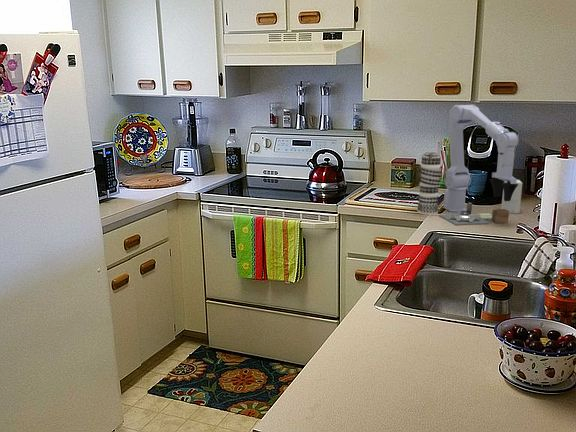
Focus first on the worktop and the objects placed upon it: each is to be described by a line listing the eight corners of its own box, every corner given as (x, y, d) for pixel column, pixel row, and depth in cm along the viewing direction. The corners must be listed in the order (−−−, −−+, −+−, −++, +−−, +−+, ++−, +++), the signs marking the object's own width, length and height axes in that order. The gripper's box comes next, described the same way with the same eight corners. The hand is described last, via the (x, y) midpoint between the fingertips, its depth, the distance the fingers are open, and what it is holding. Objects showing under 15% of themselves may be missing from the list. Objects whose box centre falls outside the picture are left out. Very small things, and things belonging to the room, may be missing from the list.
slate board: (439, 216, 250) (439, 214, 250) (471, 214, 252) (471, 213, 252) (455, 225, 236) (456, 223, 235) (489, 223, 238) (489, 222, 238)
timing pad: (472, 215, 252) (472, 213, 252) (488, 214, 253) (488, 212, 253) (482, 219, 244) (482, 218, 244) (498, 219, 246) (498, 217, 246)
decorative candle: (418, 209, 262) (421, 150, 256) (440, 211, 259) (444, 152, 253) (414, 213, 254) (418, 153, 248) (437, 215, 250) (441, 154, 245)
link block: (491, 221, 242) (492, 208, 241) (503, 221, 243) (504, 208, 242) (496, 223, 239) (497, 211, 238) (507, 223, 240) (509, 210, 239)
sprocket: (443, 218, 242) (444, 205, 241) (455, 212, 252) (456, 200, 250) (473, 223, 235) (475, 209, 234) (485, 217, 245) (486, 204, 243)
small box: (519, 213, 256) (522, 182, 253) (503, 212, 257) (506, 182, 254) (516, 209, 263) (519, 179, 260) (500, 208, 265) (503, 178, 261)
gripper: (486, 161, 242) (483, 195, 245) (505, 167, 228) (502, 203, 231) (502, 161, 243) (499, 194, 246) (522, 167, 229) (519, 202, 233)
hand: (501, 198), depth 239 cm, fingers open, 7 cm apart
